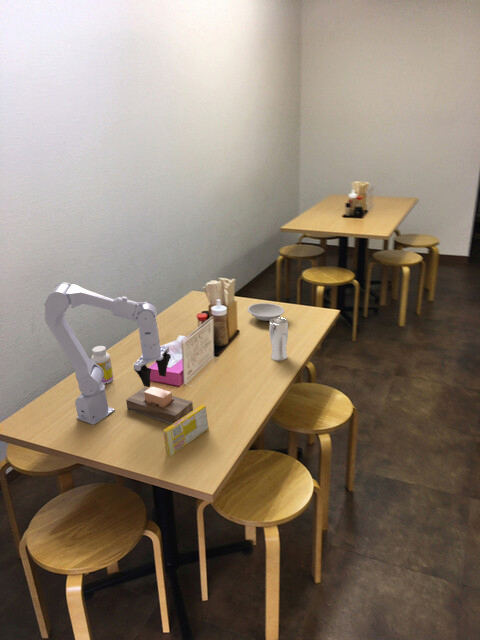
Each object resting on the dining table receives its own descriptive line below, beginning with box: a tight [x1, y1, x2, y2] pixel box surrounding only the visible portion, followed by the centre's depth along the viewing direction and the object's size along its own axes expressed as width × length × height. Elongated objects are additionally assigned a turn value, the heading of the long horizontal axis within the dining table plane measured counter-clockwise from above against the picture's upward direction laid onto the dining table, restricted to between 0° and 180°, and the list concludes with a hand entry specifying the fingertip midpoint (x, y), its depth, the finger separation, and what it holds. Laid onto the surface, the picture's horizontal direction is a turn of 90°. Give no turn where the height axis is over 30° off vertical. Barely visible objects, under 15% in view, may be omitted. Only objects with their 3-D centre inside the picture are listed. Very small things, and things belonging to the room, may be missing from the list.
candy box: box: [162, 404, 210, 457], centre depth 156 cm, size 16×2×8 cm, turn 141°
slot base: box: [125, 386, 194, 425], centre depth 173 cm, size 9×20×4 cm, turn 58°
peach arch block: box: [144, 386, 173, 408], centre depth 173 cm, size 4×8×6 cm, turn 58°
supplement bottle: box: [90, 345, 114, 385], centre depth 192 cm, size 7×7×13 cm
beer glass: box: [268, 317, 289, 362], centre depth 201 cm, size 7×7×15 cm
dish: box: [247, 302, 285, 322], centre depth 236 cm, size 18×14×5 cm
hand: (154, 380), depth 171 cm, fingers open, 7 cm apart
